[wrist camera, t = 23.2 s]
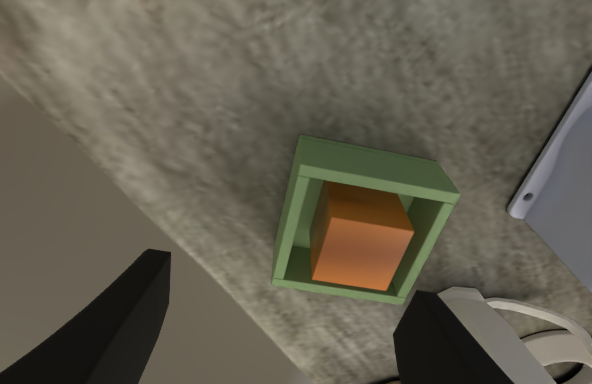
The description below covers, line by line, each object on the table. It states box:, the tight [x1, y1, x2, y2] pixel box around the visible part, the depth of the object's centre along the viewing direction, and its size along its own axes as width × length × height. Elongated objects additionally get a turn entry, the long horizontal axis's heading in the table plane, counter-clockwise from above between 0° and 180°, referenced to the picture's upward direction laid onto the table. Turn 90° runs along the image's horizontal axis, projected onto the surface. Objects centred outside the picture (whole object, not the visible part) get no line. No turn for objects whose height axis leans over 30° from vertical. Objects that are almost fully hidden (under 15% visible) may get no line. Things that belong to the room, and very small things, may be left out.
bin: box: [271, 134, 460, 305], centre depth 20 cm, size 8×8×4 cm
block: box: [309, 180, 414, 291], centre depth 19 cm, size 4×4×4 cm
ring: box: [521, 330, 592, 384], centre depth 29 cm, size 8×8×2 cm
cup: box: [437, 286, 592, 384], centre depth 22 cm, size 7×10×8 cm
